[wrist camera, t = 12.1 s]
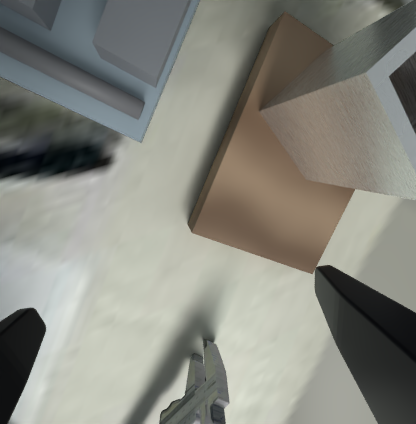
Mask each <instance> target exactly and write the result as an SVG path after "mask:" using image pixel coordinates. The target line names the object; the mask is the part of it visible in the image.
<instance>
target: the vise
mask: <svg viewBox="0 0 416 424" xmlns="http://www.w3.org/2000/svg"><path fill="white" fill-rule="evenodd" d="M199 2H200V0H0V77H2V78H4V79H6V80H8V81H10V82H12V83H15V84H17V85H19V86H21V87H23V88H25V89H27V90H29V91H32V92H34V93H36V94H38V95H40V96H42V97H44V98H47V99H49V100H51V101H53V102H55V103H57V104H59V105H61V106H64V107H66V108H68V109H70V110H72V111H74V112H76V113H79V114H81V115H83V116H85V117H87V118H89V119H91V120H94V121H96V122H98V123H100V124H102V125H104V126H106V127H108V128H111V129H113V130H115V131H117V132H119V133H121V134H123V135H126V136H128V137H130V138H132V139H134V140H136V141H138V142H140V143H142V140H143V138H144V135H145V133H146V131H147V128H148V126H149V123H150V121H151V118H152V116H153V114H154V111H155V109H156V106H157V104H158V101H159V99H160V97H161V94H162V92H163V89H164V87H165V84H166V82H167V80H168V77H169V75H170V72H171V70H172V67H173V65H174V63H175V60H176V58H177V55H178V53H179V50H180V48H181V46H182V43H183V41H184V38H185V36H186V33H187V31H188V29H189V26H190V24H191V21H192V19H193V16H194V14H195V12H196V9H197V7H198V4H199Z"/></svg>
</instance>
